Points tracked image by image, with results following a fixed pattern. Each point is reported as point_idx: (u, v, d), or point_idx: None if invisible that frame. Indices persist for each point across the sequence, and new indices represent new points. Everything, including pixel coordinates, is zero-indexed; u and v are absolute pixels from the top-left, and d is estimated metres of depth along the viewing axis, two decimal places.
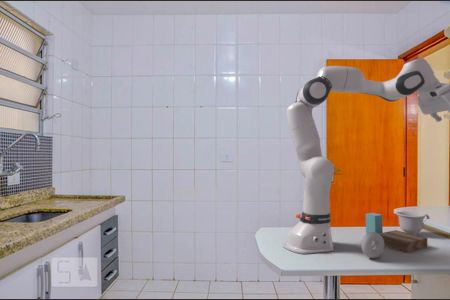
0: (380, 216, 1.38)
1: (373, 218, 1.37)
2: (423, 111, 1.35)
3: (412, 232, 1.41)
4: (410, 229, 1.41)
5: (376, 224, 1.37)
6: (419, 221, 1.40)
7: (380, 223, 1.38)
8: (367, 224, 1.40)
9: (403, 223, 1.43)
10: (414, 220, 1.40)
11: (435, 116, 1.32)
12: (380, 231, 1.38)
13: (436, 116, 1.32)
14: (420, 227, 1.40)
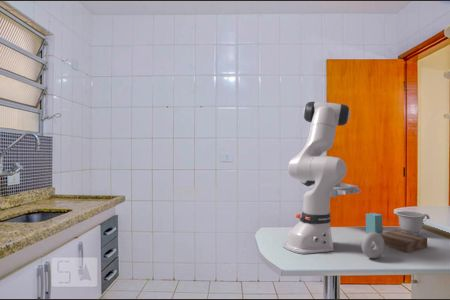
0: (380, 216, 1.38)
1: (373, 218, 1.37)
2: None
3: (412, 232, 1.41)
4: (410, 229, 1.41)
5: (376, 224, 1.37)
6: (419, 221, 1.40)
7: (380, 223, 1.38)
8: (367, 224, 1.40)
9: (403, 223, 1.43)
10: (414, 220, 1.40)
11: None
12: (380, 231, 1.38)
13: None
14: (420, 227, 1.40)
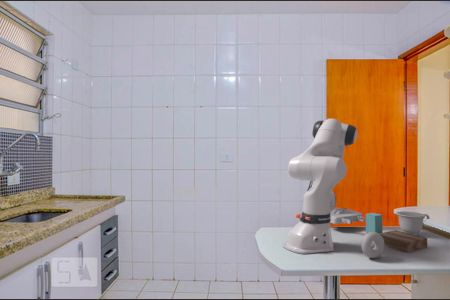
0: (380, 216, 1.38)
1: (373, 218, 1.37)
2: (335, 216, 1.50)
3: (412, 232, 1.41)
4: (410, 229, 1.41)
5: (376, 224, 1.37)
6: (419, 221, 1.40)
7: (380, 223, 1.38)
8: (367, 224, 1.40)
9: (403, 223, 1.43)
10: (414, 220, 1.40)
11: None
12: (380, 231, 1.38)
13: None
14: (420, 227, 1.40)
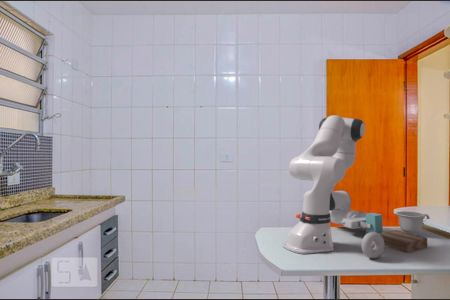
0: (380, 216, 1.38)
1: (373, 218, 1.37)
2: (351, 220, 1.41)
3: (412, 232, 1.41)
4: (410, 229, 1.41)
5: (376, 224, 1.37)
6: (419, 221, 1.40)
7: (380, 223, 1.38)
8: None
9: (403, 223, 1.43)
10: (414, 220, 1.40)
11: None
12: (380, 231, 1.38)
13: None
14: (420, 227, 1.40)
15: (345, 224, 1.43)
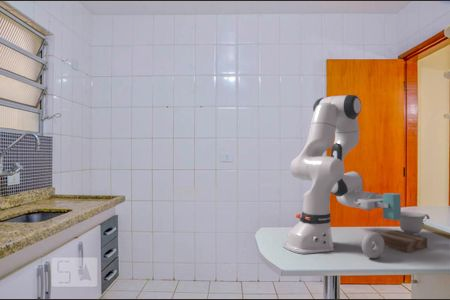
0: (398, 195, 1.30)
1: (391, 197, 1.29)
2: (367, 200, 1.33)
3: (412, 232, 1.41)
4: (410, 229, 1.41)
5: (394, 204, 1.29)
6: (419, 221, 1.40)
7: (398, 203, 1.30)
8: None
9: (403, 223, 1.43)
10: (414, 220, 1.40)
11: None
12: (398, 212, 1.30)
13: None
14: (420, 227, 1.40)
15: (361, 205, 1.35)
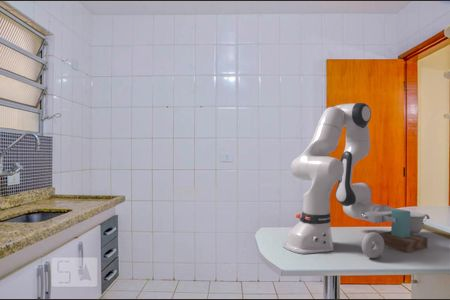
0: (408, 212, 1.26)
1: (400, 214, 1.26)
2: (375, 214, 1.29)
3: (412, 232, 1.41)
4: (410, 229, 1.41)
5: (403, 221, 1.25)
6: (419, 221, 1.40)
7: (408, 220, 1.26)
8: None
9: None
10: (414, 220, 1.40)
11: None
12: (407, 229, 1.26)
13: None
14: (420, 227, 1.40)
15: (368, 218, 1.31)
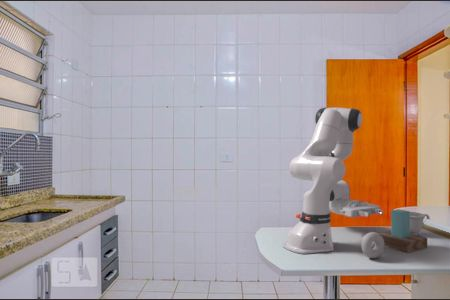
0: (407, 213, 1.26)
1: (400, 215, 1.26)
2: (351, 209, 1.41)
3: (412, 232, 1.41)
4: (410, 229, 1.41)
5: (403, 221, 1.25)
6: (419, 221, 1.40)
7: (407, 220, 1.26)
8: (393, 221, 1.28)
9: None
10: (414, 220, 1.40)
11: None
12: (407, 229, 1.26)
13: None
14: (420, 227, 1.40)
15: (345, 213, 1.43)
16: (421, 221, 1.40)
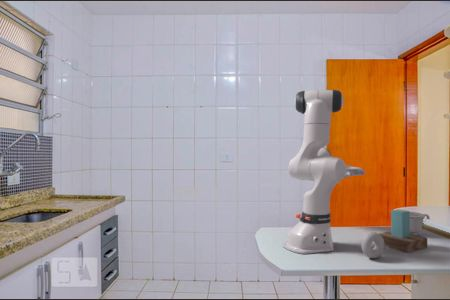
0: (407, 213, 1.26)
1: (400, 215, 1.26)
2: None
3: (412, 232, 1.41)
4: (410, 229, 1.41)
5: (403, 221, 1.25)
6: (419, 221, 1.40)
7: (407, 220, 1.26)
8: (393, 221, 1.28)
9: None
10: (414, 220, 1.40)
11: None
12: (407, 229, 1.26)
13: None
14: (420, 227, 1.40)
15: None
16: (421, 221, 1.40)
